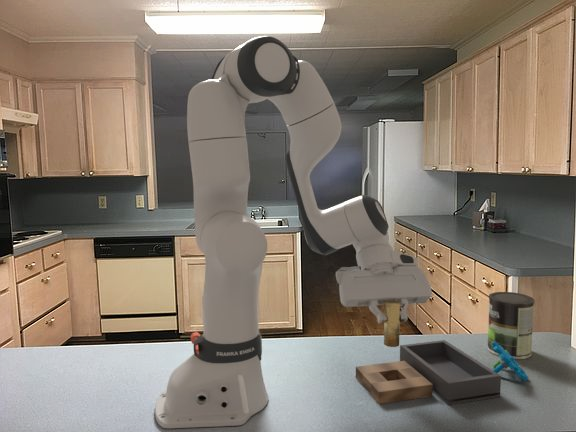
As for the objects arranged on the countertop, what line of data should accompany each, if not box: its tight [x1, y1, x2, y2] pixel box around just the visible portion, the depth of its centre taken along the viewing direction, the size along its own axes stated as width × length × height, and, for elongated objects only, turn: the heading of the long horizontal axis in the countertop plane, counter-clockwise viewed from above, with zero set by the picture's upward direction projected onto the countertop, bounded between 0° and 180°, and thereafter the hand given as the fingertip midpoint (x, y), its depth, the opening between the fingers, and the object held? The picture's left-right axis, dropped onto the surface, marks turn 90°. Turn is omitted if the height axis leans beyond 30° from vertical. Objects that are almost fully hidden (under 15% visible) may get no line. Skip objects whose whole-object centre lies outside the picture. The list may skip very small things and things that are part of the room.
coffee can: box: [487, 291, 535, 360], centre depth 114 cm, size 10×10×14 cm
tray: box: [399, 339, 502, 406], centre depth 100 cm, size 12×20×4 cm, turn 14°
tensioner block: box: [355, 360, 434, 405], centre depth 97 cm, size 12×12×2 cm
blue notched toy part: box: [491, 341, 529, 382], centre depth 102 cm, size 11×6×10 cm
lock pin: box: [383, 301, 401, 348], centre depth 96 cm, size 3×3×9 cm
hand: (393, 321), depth 95 cm, fingers closed on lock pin, 3 cm apart
